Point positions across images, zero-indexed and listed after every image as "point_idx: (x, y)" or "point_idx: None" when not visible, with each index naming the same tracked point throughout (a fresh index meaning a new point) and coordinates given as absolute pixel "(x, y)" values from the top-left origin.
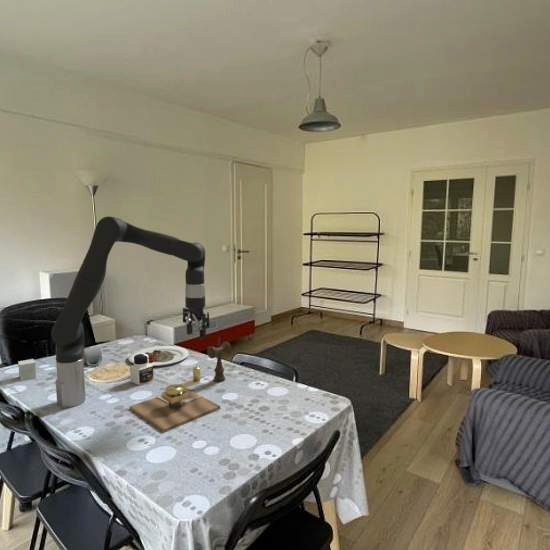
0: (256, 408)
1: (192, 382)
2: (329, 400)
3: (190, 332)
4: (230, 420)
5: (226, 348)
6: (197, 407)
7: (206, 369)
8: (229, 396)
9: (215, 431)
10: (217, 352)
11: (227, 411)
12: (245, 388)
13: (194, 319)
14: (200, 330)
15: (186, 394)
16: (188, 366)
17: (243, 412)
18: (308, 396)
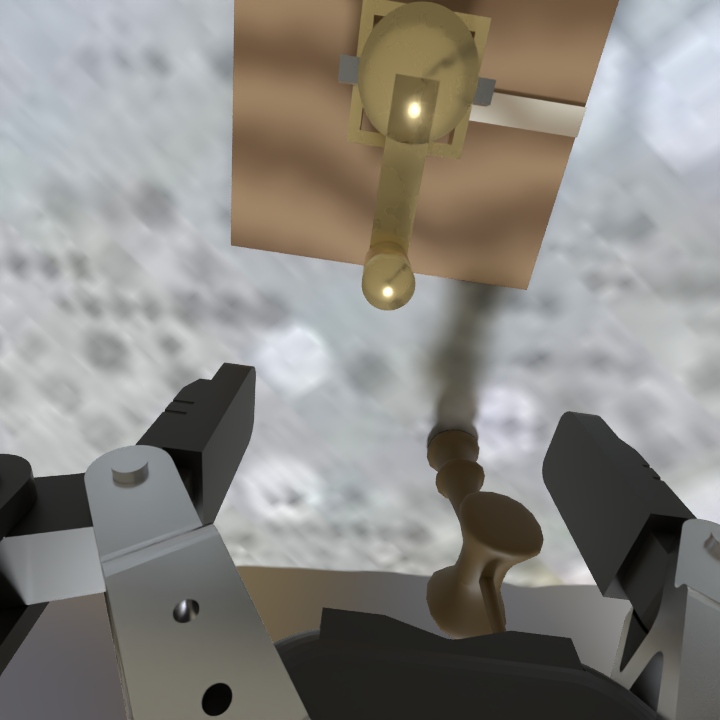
0: (126, 335)
1: (382, 220)
2: None
3: (561, 461)
4: (111, 184)
5: (446, 593)
6: (302, 163)
7: None
8: (295, 354)
9: (68, 51)
10: (463, 537)
11: (189, 242)
12: (299, 443)
13: (394, 696)
14: (174, 440)
15: (348, 128)
16: (683, 477)
17: (134, 277)
18: None
